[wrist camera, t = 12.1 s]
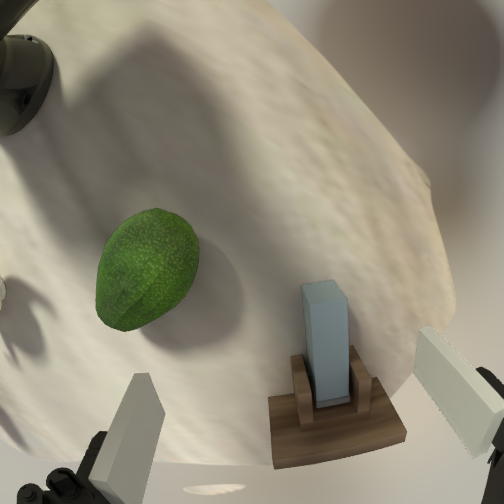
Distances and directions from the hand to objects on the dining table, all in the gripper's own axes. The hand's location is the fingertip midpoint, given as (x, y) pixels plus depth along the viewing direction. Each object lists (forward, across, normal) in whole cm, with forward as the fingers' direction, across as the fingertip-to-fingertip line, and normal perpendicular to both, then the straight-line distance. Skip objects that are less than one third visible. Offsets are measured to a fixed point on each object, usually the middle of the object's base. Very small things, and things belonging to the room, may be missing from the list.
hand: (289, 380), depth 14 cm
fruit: (+24, -13, 0) cm, 27 cm away
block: (+23, +6, -12) cm, 27 cm away
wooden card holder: (+23, +6, -19) cm, 30 cm away
